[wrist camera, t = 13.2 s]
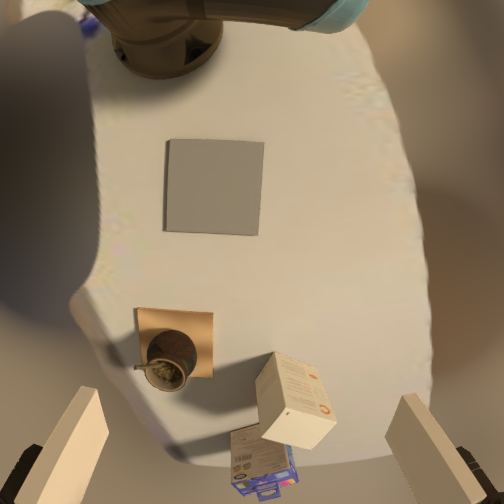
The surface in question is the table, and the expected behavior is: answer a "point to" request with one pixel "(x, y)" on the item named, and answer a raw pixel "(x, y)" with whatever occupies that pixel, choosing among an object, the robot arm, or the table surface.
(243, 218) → the felt pad
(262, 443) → the ink cartridge box
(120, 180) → the table surface
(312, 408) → the small box
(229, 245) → the table surface
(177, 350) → the mate gourd
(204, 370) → the square wooden coaster
